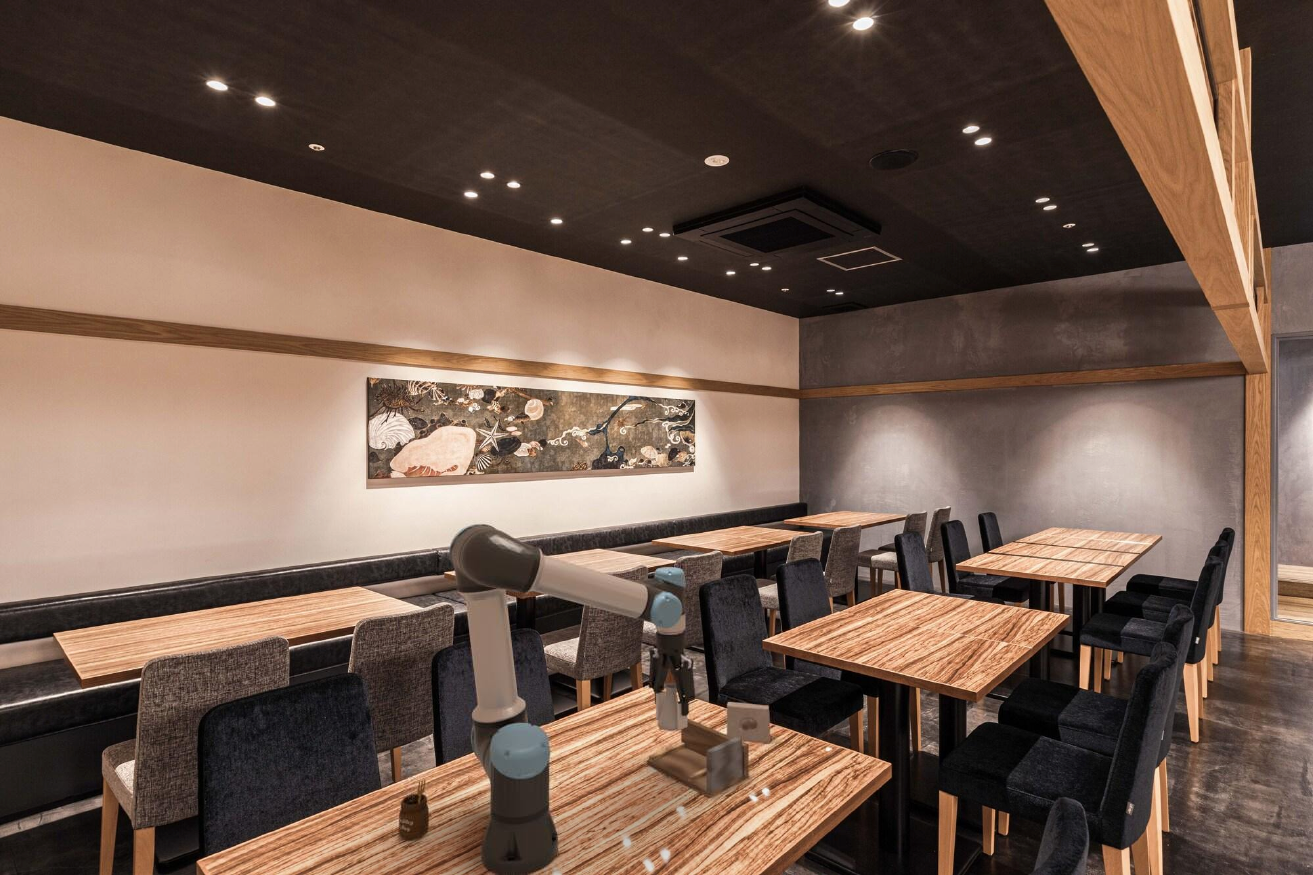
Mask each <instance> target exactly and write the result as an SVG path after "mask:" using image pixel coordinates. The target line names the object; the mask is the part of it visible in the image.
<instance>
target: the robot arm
mask: <svg viewBox="0 0 1313 875" xmlns="http://www.w3.org/2000/svg"><path fill="white" fill-rule="evenodd" d="M448 551H449V552H448V553H449V554H448V555H449V560H450V563H451V565H452V566H453V568H454V576H455V584H456V590H457V593H458V594H460V595H461V596H463V598H465V604H466V612H467V613H466V614H467V615H466V616H467V621H468V622H467V624H468V630H469V639H470V640H469V641H470V648H471V655H472V656H471V657H472V664H473V666H472V667H473V675H474V681H475V688H476V689H475V691H476V699H477V700H476V701H477V705H476V706H475V708H474V709H473V711H472V713H471V718H472V720H471V721H472V728H471V733H470V735H471V736H470V742H471V747H472V750H473V753H474V756H476V757H475V758H477V759H478V761H479V762H480V765H481V766H482V769H484V772H485V774H486V776H487V777H488V779H489V780H488V781H489V784H490V786H489V787H490V789H489V790H490V791H489V792H490V795H489V796H490V800H489V802H490V803H489V804H490V806H489V807H490V813H489V815H490V816H489V820H488V823H487V825H486V829H485V832H484V837H483V839H482V841H481V848H480V849H481V850H480V856H481V864H483V866H484V868H486V869H487V870H489V871H490V872H492V873H495V874H498V875H526V874H531V873H534V872H536V871H538V870H541V869H542V868H544V867H546V866H547V865H549V864H550V863H551V862H552V861H553V860H554V859H555V858H556V856H557V854H558V852H559V851H558V850H559V836H558V835H559V834H558V831H557V828H556V825H555V823H554V822H555V821H554V819H553V816H552V813H551V810H550V759H551V747H550V740H549V737H548V734H547V733H546V731H545V730H544V729H543V728H542V727H540V726H538V725H535V724H534V725H532V724H531V723H530V722H528V721H529V720H528V714H527V713H528V712H527V705H526V700H524V699H523V698H521V697H519V695H518V690H517V688H518V687H517V678H516V669H515V663H514V653H513V652H514V651H513V645H512V637H511V636H512V635H511V627H510V620H509V619H510V617H509V609H508V608H509V607H508V600H507V594H506V593H507V592H506V591H511V592H515V593H519V594H523V595H527V594H529V593H530V592H535V593H540V594H543V595H547V596H550V597H554V598H557V599H561V600H565V601H570V602H573V603H577V604H579V605H580V604H581V605H584V606H588V607H591V608H596V609H600V610H604V611H606V612H611V613H614V614H617V615H622V616H625V617H630V618H633V619H636V620H640V621H643V622H647V623H650V624H653V625H654V626H655V630H656V632H655V646H656V648H652V649H649V658H650V659H649V672H648V673H649V675H648V688H649V689H652V690H653V693H654V704H655V719H656V721H658V720H659V717H660V715H661V712H662V709H663V705H664V702H665V697H666V688H665V685H666V681H667V680H666V679H667V678H668V673H669V671H670V673H671V675H672V676H673V679H674V682H675V683H674V684H676V688H677V690H676V691H677V694H678V695H677V697H678V702H677V728H678V729H679V730H678V731H681V729H683V728H686V727H687V718H688V716H689V714H690V710H689V708H690V707H689V706H690V702H693V701H695V700H696V691H695V681H694V680H695V678H694V669H693V668H694V663H695V662H694V659H693V658H690V659H689V658H687V657H686V655H685V651H684V650H685V647H686V644H687V640H686V638H687V637H686V636H687V635H686V631H685V630H686V588H687V586H686V577H685V576H686V575H685V571H684V570H683V569H682V568H680V567H673V566H667V567H666V566H665V567H659V568H657V569H656V570H655V572H654V575H653V576H654V577H651V578H645V579H636V580H635V579H634V580H629V579H625V578H622V577H618V576H615V575H611V574H608V573H605V572H602V571H598V570H595V569H593V568H588V567H585V566H582V565H579V564H576V563H572V562H569V561H566V560H565V561H564V560H563V559H559V558H555V557H551V556H549V555H545V554H543V551H542V549H541V548H538V547H536V546H532V545H530V544H527V543H525V542H523V541H520V540H519V539H516V538H515V537H513V536H510V535H509V534H508V533H506V532H504V531H502V530H500V529H497V528H495V527H494V526H492V525H490V524H485V523H478V524H477V523H475V524H471V525H467V526H465V527H463V528H462V529H460V530H459V531H458V532H457V533H456V534H455V536H453V539H452V540H451V542H450V546H449V550H448Z"/></svg>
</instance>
